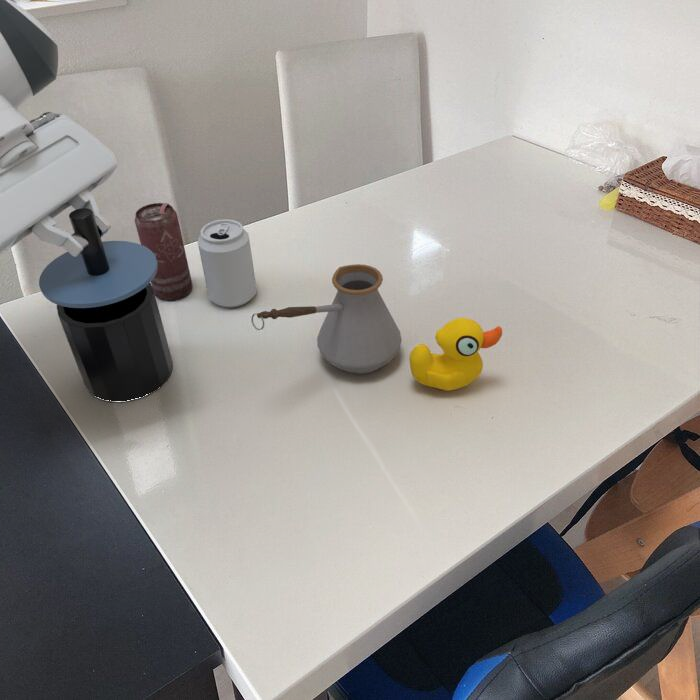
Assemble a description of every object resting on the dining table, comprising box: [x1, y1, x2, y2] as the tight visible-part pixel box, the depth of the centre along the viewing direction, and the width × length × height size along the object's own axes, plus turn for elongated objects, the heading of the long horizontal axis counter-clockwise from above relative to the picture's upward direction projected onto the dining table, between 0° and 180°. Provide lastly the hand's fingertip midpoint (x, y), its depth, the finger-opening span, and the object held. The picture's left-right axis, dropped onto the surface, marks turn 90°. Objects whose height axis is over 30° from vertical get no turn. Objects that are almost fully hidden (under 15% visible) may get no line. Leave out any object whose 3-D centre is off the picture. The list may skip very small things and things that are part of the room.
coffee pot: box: [251, 263, 403, 375], centre depth 87 cm, size 21×12×15 cm, turn 131°
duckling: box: [409, 317, 503, 391], centre depth 86 cm, size 11×5×10 cm, turn 93°
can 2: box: [197, 218, 258, 309], centre depth 102 cm, size 8×8×12 cm
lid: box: [38, 208, 158, 308], centre depth 73 cm, size 13×13×8 cm
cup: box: [56, 282, 174, 401], centre depth 89 cm, size 12×12×12 cm
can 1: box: [134, 202, 193, 302], centre depth 103 cm, size 6×6×14 cm
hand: (93, 242), depth 72 cm, fingers closed on lid, 2 cm apart
